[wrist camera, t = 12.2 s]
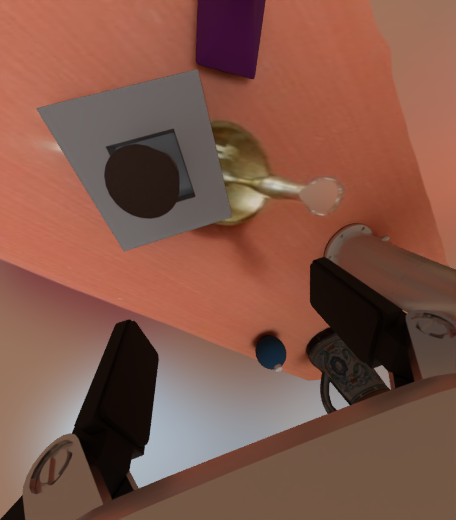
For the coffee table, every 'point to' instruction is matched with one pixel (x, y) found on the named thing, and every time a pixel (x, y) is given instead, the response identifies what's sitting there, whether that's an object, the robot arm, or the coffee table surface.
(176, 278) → the coffee table surface
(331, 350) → the beer stein
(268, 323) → the coffee table surface
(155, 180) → the deodorant
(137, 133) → the socket block
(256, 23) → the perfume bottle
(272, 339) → the christmas ornament
